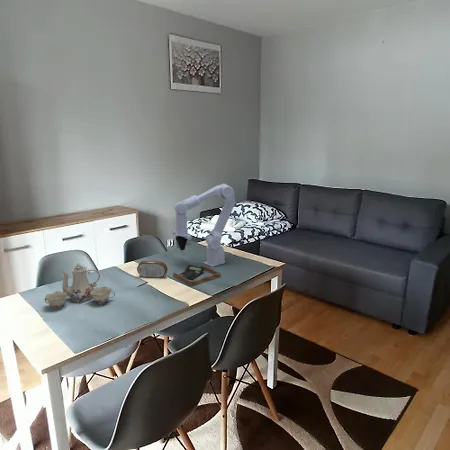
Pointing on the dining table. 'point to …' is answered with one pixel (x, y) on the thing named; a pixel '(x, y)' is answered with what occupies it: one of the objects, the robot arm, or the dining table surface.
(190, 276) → the calculator
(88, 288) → the chinaware
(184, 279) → the brown angled flat piece
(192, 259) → the dining table surface
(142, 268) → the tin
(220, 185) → the robot arm
